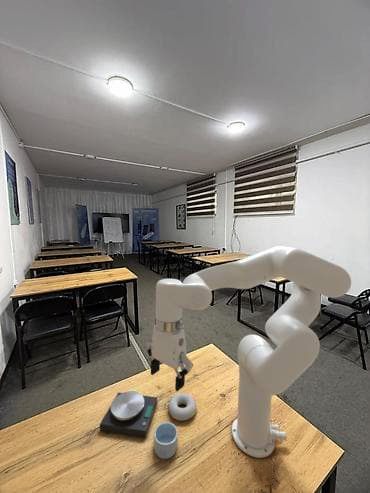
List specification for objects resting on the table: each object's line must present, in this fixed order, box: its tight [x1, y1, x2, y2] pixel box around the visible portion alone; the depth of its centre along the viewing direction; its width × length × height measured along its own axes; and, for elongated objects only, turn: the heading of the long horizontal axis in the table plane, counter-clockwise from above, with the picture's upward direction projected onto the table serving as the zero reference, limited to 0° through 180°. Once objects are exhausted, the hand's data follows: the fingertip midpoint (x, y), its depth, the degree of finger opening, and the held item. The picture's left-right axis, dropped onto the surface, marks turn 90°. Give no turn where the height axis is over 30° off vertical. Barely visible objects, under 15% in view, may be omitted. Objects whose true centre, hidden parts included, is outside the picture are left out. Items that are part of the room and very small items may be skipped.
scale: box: [99, 392, 158, 439], centre depth 71 cm, size 15×13×3 cm
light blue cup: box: [153, 421, 179, 460], centre depth 61 cm, size 7×7×4 cm
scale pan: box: [110, 390, 144, 420], centre depth 71 cm, size 11×11×1 cm
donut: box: [167, 392, 197, 422], centre depth 74 cm, size 10×4×10 cm
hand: (166, 379), depth 61 cm, fingers open, 9 cm apart
